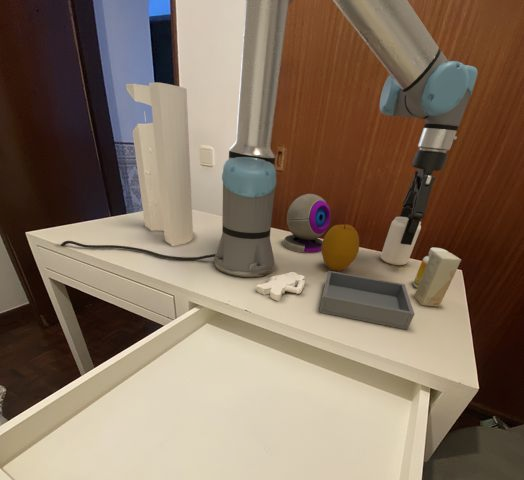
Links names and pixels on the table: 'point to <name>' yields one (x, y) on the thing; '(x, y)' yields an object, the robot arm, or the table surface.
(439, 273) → the box
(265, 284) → the white abstract figurine
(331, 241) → the apple
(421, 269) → the supplement bottle
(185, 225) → the white tall block
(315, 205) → the webcam
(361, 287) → the tray
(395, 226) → the beverage can
